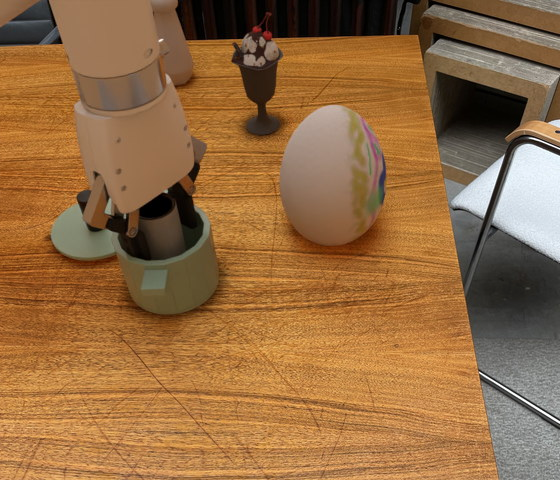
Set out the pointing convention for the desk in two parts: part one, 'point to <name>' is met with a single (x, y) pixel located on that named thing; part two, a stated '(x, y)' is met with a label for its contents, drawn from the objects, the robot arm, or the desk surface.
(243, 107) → the desk surface
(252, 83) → the sundae
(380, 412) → the desk surface
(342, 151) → the decorative egg
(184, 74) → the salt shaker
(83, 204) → the lid
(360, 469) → the desk surface
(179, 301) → the pot
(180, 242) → the grey tube
